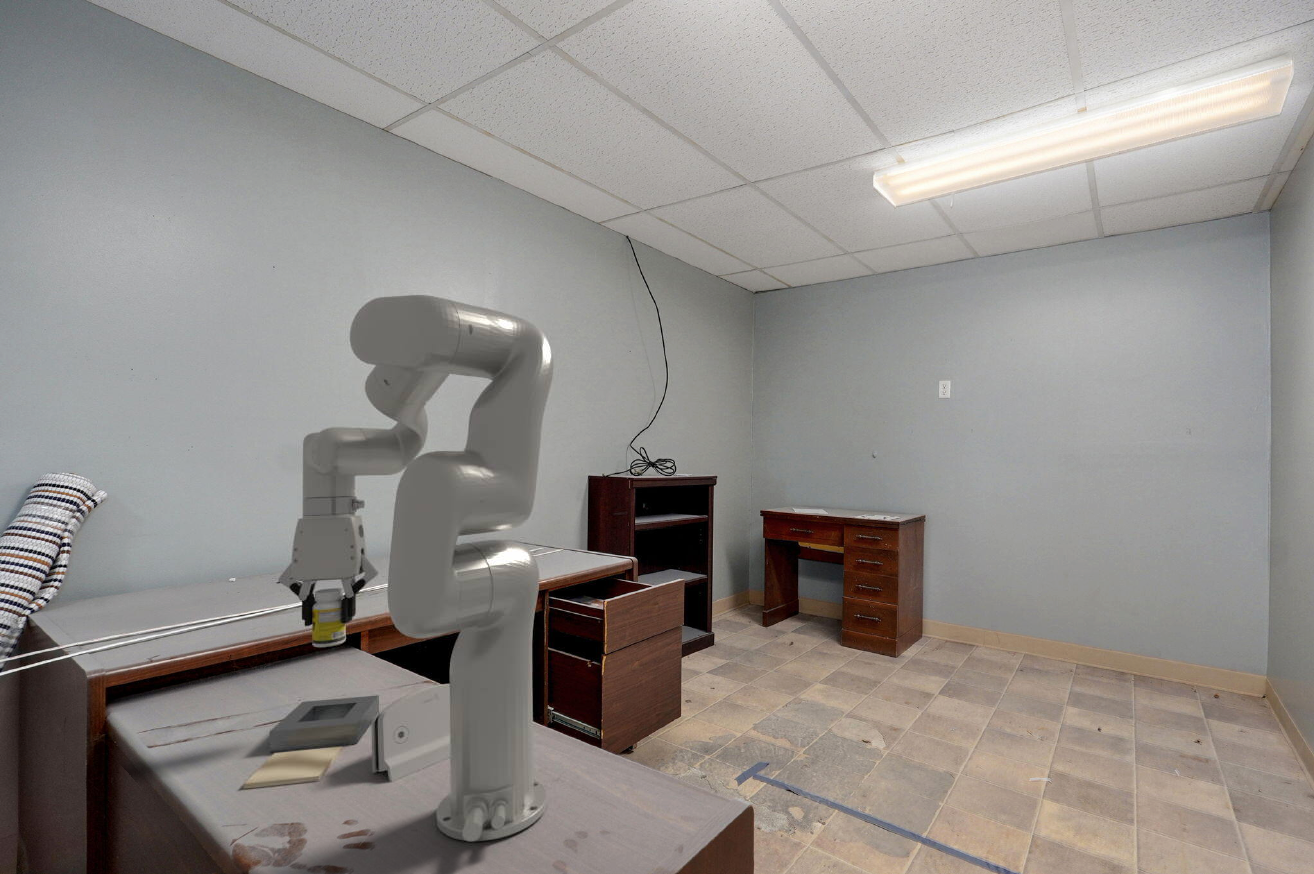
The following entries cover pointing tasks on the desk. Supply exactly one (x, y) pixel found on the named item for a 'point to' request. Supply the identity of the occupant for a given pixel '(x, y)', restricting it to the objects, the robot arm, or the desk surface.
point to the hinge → (412, 732)
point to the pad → (293, 767)
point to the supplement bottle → (328, 618)
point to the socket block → (324, 723)
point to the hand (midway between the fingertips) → (329, 621)
